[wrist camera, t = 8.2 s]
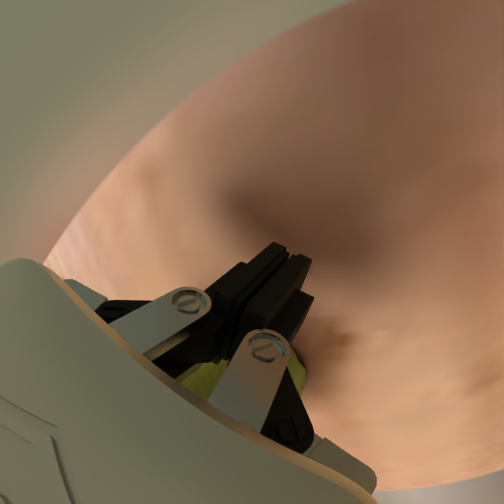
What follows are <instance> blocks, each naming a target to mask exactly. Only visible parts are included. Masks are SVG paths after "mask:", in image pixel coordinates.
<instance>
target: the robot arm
mask: <svg viewBox="0 0 504 504" xmlns="http://www.w3.org/2000/svg"><path fill="white" fill-rule="evenodd" d="M289 254H290V253H289V252H286V247H284V246H282V245H280V244H278V243H275V242H272V243H271V244H270V245H269V246H268V247H266V248H265V249H264V250H263V251H262V252H261V253H259V254H258V255H257V256H256V257H255V258H253V259H252V260H251V261H250V262H249V263H248V264H246V263H244V262H240V263H238V264H237V265H236V266H234V267H233V268H232V269H231V270H229V271H228V272H227V273H226V274H224V275H223V276H222V277H221V278H219V279H218V280H217V281H216V282H214V283H213V284H212V285H211V286H210V287H208V288H207V289H206V290H205V291H202V290H200V289H198V288H194V287H180V288H177V289H175V290H173V291H171V292H169V293H167V294H165V295H163V296H161V297H159V298H157V299H155V300H154V301H141V300H110V301H108V299H107V297H105V296H103V295H101V294H99V293H97V292H95V291H94V290H92V289H90V288H88V287H86V286H85V285H83V284H81V283H79V282H77V281H75V280H73V279H66V280H62V279H61V278H60V277H59V276H58V275H57V274H56V273H55V272H53V271H52V270H51V269H49V268H48V267H46V266H44V265H43V264H41V263H38V262H36V261H33V260H30V259H25V258H18V259H15V260H12V261H9V262H7V263H5V264H3V265H1V266H0V504H378V503H377V501H376V500H375V499H374V498H373V497H372V496H371V495H372V493H373V492H374V490H375V487H376V485H377V477H376V475H375V473H374V471H373V470H372V469H371V468H370V467H368V466H367V465H365V464H364V463H362V462H361V461H359V460H358V459H356V458H354V457H353V456H351V455H350V454H348V453H347V452H346V451H344V450H343V449H341V448H340V447H338V446H337V445H335V444H334V443H333V442H331V441H330V440H328V439H327V438H326V437H325V438H324V439H322V438H321V437H319V436H318V435H317V434H315V433H314V429H313V426H312V424H311V421H310V419H309V417H308V414H307V412H306V410H305V407H304V405H303V403H302V400H301V398H300V396H299V393H298V391H297V389H296V386H295V384H294V382H293V379H292V377H291V375H290V372H289V370H288V368H287V363H288V360H289V357H290V352H291V350H290V346H289V345H290V343H291V342H292V340H293V338H294V337H295V335H296V333H297V332H298V330H299V328H300V327H301V325H302V323H303V321H304V319H305V317H306V315H307V313H308V311H309V309H310V307H311V305H312V302H313V300H314V297H313V296H311V295H309V294H306V293H304V292H302V291H300V290H301V288H302V285H303V283H304V280H305V278H306V275H307V272H308V270H309V267H310V265H311V262H312V259H310V258H308V257H306V256H304V255H301V254H298V255H297V256H295V255H292V256H291V257H290V258H289ZM288 258H289V259H288ZM222 359H223V360H225V361H227V360H228V363H227V367H226V370H225V372H224V374H223V375H222V377H221V379H220V381H219V382H218V384H217V386H216V387H215V389H214V391H213V392H212V394H211V396H210V397H209V399H208V401H207V402H206V401H204V400H203V399H201V398H200V397H198V396H197V395H196V394H194V393H193V392H191V391H190V390H188V389H187V388H185V387H184V386H183V385H181V384H180V383H181V382H182V381H184V380H185V379H186V378H188V377H189V376H190V375H192V374H193V373H194V372H196V371H197V370H198V369H199V368H200V367H201V366H202V364H203V363H210V362H213V363H214V364H216V365H218V364H219V362H220V361H221V360H222Z"/></svg>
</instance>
